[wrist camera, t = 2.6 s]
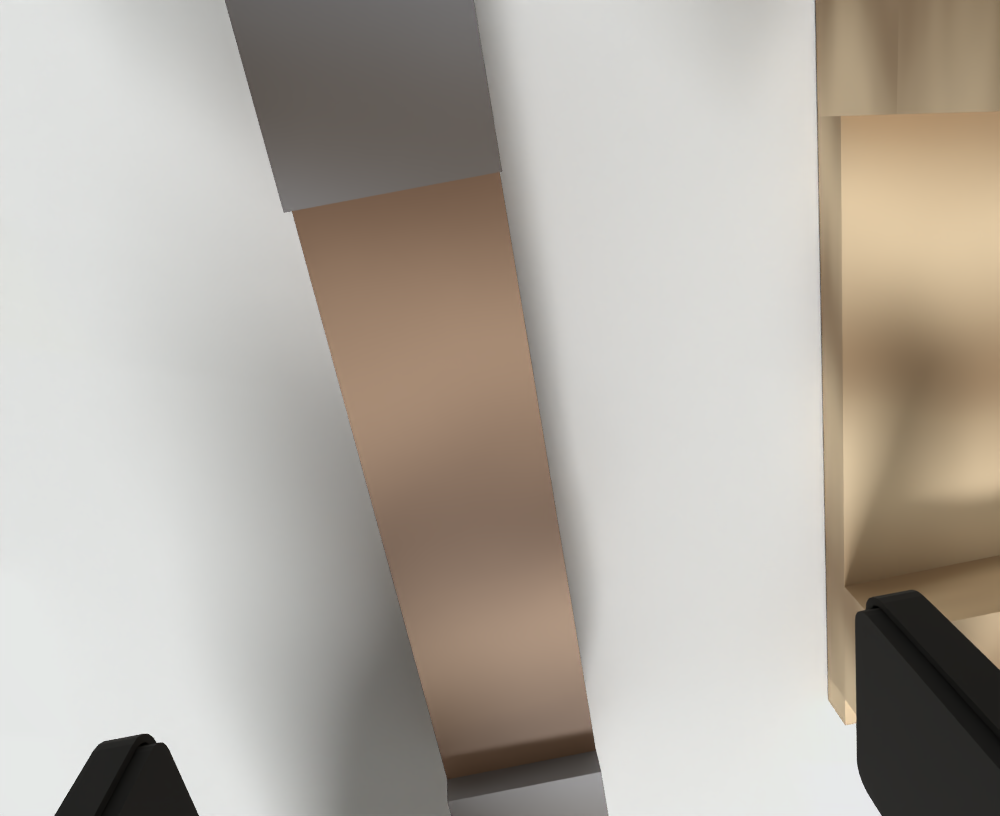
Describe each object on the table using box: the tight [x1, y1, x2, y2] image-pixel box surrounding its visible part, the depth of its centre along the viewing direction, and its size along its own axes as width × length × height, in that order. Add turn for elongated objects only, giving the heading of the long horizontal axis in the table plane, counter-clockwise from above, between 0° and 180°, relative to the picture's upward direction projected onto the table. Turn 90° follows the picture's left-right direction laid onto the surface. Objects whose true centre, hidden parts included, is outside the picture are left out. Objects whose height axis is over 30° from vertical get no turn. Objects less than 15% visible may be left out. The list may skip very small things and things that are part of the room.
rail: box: [225, 0, 608, 816], centre depth 16 cm, size 20×4×5 cm, turn 10°
